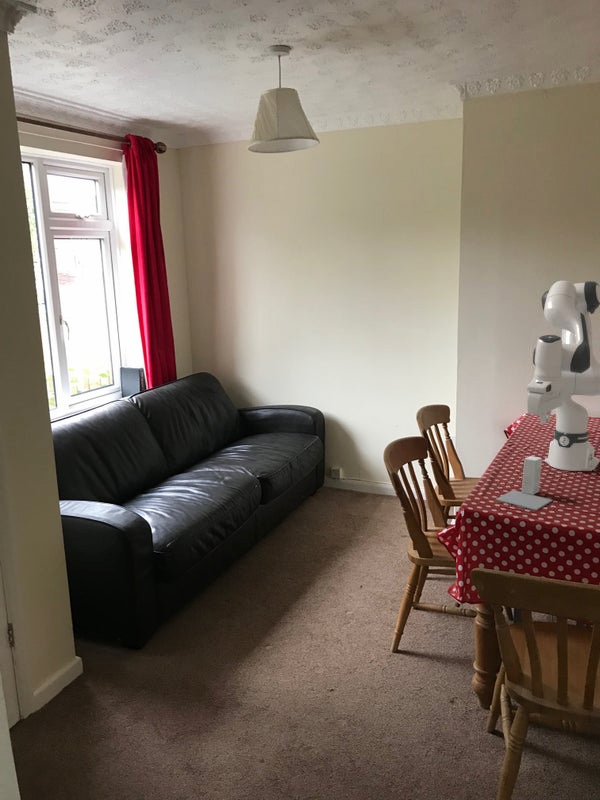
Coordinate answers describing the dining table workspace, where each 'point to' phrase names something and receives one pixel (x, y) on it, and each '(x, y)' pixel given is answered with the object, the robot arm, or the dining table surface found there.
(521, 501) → the mat
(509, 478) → the dining table surface
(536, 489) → the skincare box
